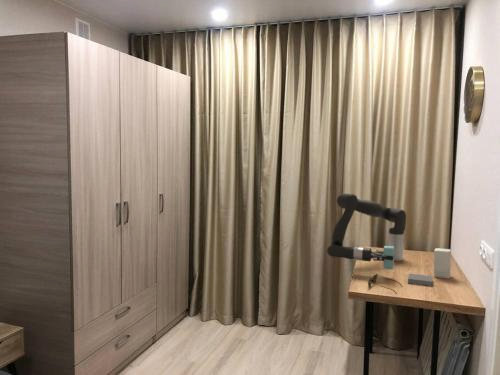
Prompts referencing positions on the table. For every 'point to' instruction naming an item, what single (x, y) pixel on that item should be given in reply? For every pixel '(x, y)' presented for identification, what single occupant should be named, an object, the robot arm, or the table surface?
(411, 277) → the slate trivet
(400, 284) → the sunglasses
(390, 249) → the teal block
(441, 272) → the skincare box
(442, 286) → the table surface
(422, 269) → the table surface
